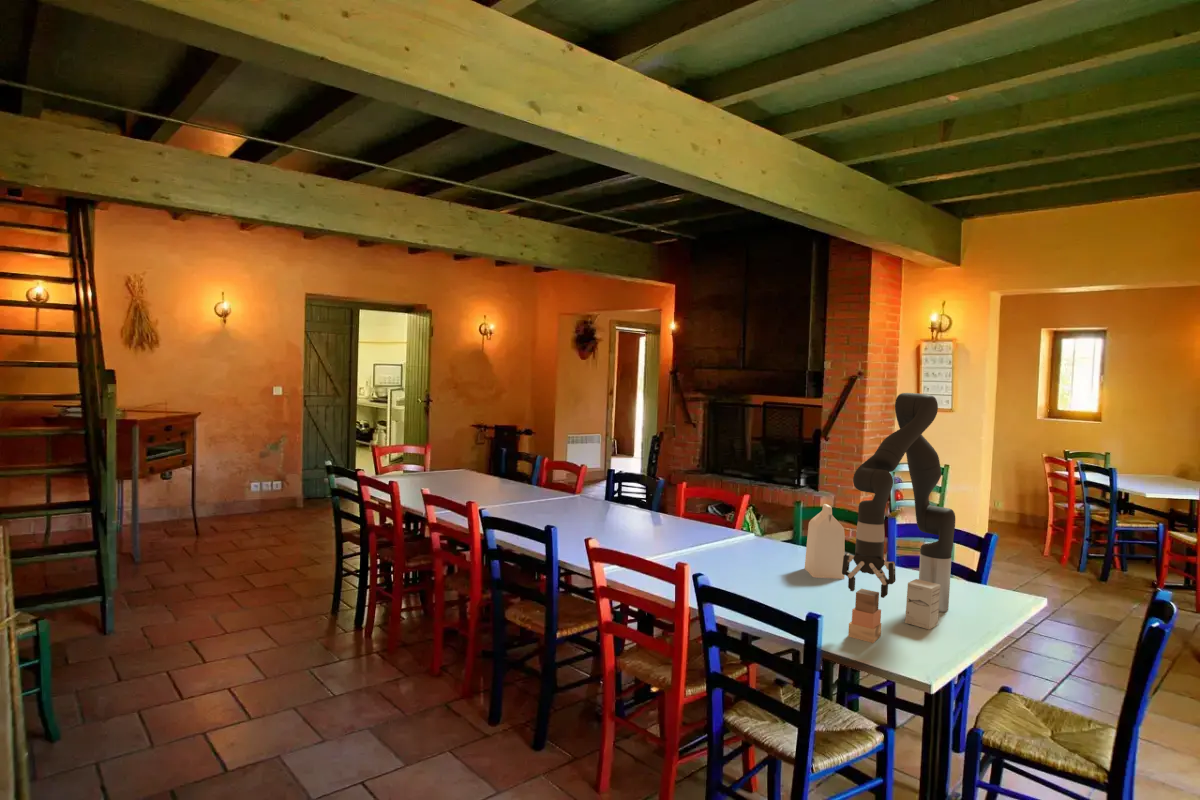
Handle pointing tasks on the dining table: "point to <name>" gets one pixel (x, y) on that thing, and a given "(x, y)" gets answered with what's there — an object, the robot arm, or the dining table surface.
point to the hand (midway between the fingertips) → (867, 593)
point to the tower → (866, 618)
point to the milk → (825, 546)
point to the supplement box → (922, 603)
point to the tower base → (864, 632)
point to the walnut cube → (867, 601)
